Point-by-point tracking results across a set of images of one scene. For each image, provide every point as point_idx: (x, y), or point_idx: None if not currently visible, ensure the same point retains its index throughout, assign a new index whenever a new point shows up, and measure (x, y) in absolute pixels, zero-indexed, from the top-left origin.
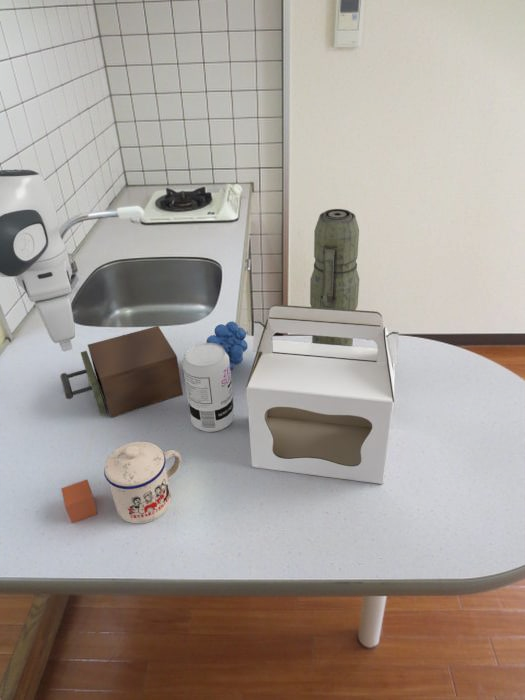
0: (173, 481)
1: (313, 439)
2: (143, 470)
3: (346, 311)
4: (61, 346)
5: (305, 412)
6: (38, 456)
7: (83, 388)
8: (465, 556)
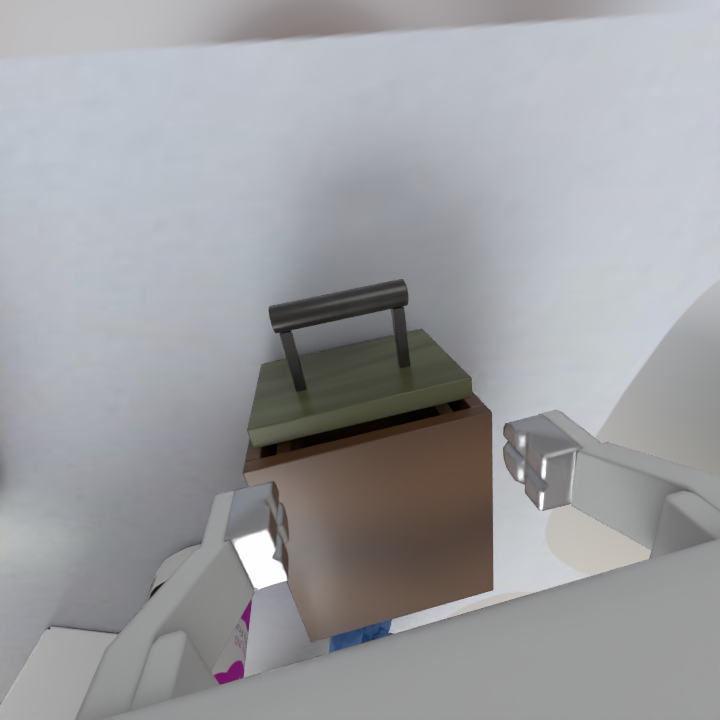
0: (3, 512)
1: None
2: None
3: None
4: (207, 526)
5: None
6: (115, 180)
7: (297, 366)
8: None
